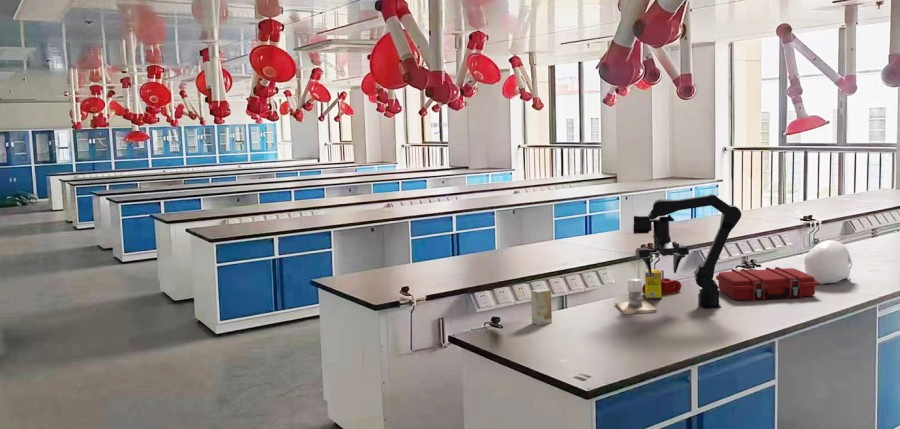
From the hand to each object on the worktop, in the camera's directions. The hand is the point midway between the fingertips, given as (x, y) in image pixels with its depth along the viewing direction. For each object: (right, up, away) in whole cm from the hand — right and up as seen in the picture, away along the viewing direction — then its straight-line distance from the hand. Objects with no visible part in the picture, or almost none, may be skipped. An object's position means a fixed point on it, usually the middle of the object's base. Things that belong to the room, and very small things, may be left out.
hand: (662, 273), depth 278 cm
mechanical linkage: (+6, -10, +24) cm, 26 cm away
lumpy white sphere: (+77, -5, +25) cm, 81 cm away
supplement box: (+1, -11, +15) cm, 19 cm away
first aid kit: (+44, -9, +11) cm, 46 cm away
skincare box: (-47, -17, -11) cm, 51 cm away
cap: (-11, -6, 0) cm, 12 cm away
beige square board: (-10, -13, 0) cm, 17 cm away
